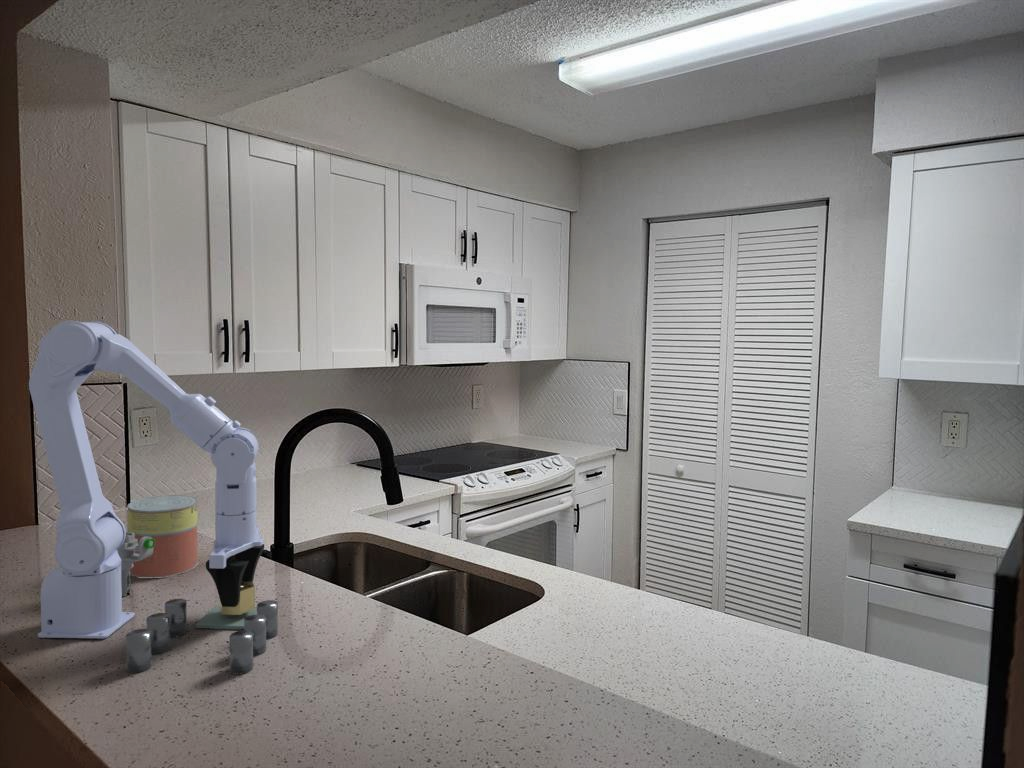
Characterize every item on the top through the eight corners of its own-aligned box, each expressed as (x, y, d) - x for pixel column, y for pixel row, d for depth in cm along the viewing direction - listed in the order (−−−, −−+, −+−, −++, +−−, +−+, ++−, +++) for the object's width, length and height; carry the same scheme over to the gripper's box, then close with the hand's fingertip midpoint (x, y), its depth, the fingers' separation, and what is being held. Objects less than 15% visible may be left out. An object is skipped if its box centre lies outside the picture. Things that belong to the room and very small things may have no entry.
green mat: (194, 628, 98) (194, 625, 98) (214, 609, 105) (214, 606, 105) (257, 629, 99) (257, 626, 99) (272, 610, 106) (272, 607, 106)
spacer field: (122, 672, 85) (121, 638, 85) (170, 628, 98) (170, 598, 98) (248, 674, 86) (248, 640, 86) (280, 630, 99) (280, 600, 98)
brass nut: (212, 614, 100) (212, 590, 100) (225, 602, 105) (225, 579, 104) (248, 615, 100) (249, 591, 100) (259, 603, 105) (259, 580, 105)
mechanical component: (145, 601, 107) (144, 540, 107) (90, 595, 109) (89, 534, 109) (158, 594, 110) (158, 534, 110) (104, 588, 112) (103, 529, 112)
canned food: (210, 565, 125) (210, 501, 124) (150, 583, 115) (149, 514, 114) (175, 553, 131) (175, 492, 130) (115, 569, 121) (114, 504, 120)
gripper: (245, 524, 94) (245, 619, 95) (278, 499, 109) (278, 581, 110) (193, 523, 94) (194, 618, 95) (234, 498, 108) (234, 581, 109)
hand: (236, 599), depth 102 cm, fingers closed on brass nut, 4 cm apart
